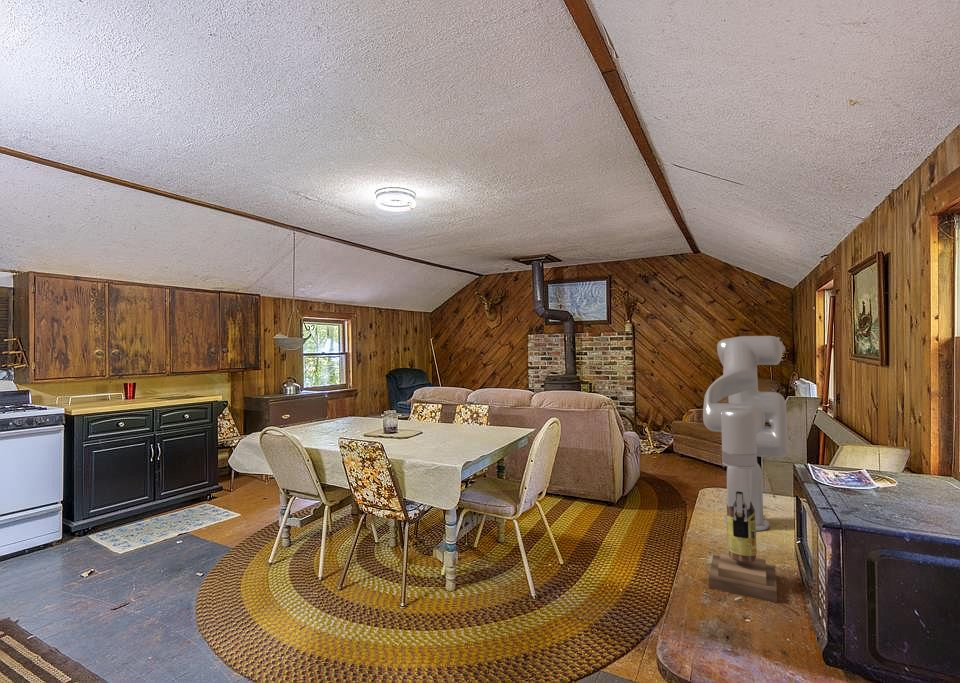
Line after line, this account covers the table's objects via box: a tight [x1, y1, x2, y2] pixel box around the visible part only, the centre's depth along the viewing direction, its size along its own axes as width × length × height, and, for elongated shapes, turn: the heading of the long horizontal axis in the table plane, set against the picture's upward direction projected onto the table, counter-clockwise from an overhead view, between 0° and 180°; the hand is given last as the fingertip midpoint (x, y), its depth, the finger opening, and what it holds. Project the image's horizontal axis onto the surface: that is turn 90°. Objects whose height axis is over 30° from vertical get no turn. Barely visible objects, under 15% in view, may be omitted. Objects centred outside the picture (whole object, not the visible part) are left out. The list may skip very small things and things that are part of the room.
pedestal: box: [708, 551, 778, 603], centre depth 119 cm, size 14×14×4 cm
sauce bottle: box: [726, 492, 758, 563], centre depth 119 cm, size 6×6×20 cm
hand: (741, 531), depth 119 cm, fingers closed on sauce bottle, 6 cm apart
